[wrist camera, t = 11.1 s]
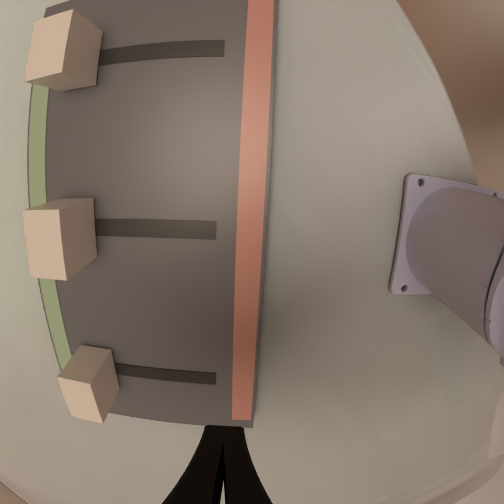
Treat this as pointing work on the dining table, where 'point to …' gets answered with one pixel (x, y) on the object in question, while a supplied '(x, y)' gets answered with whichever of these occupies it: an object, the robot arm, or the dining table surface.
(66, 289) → the breaker panel
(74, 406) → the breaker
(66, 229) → the breaker middle
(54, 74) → the block
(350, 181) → the dining table surface
